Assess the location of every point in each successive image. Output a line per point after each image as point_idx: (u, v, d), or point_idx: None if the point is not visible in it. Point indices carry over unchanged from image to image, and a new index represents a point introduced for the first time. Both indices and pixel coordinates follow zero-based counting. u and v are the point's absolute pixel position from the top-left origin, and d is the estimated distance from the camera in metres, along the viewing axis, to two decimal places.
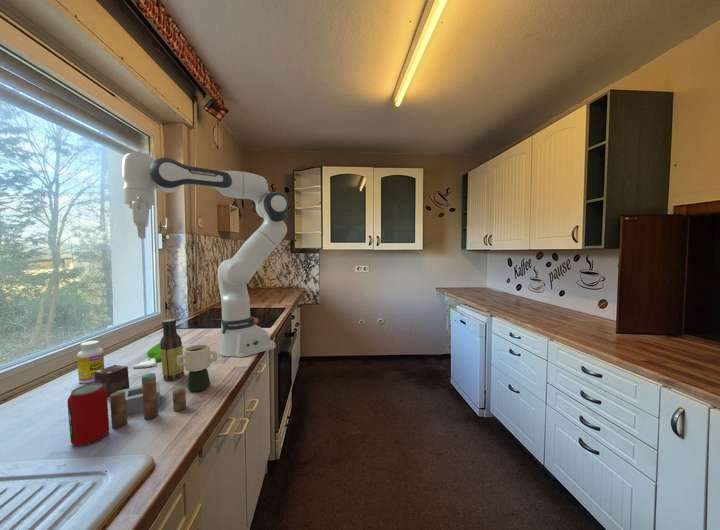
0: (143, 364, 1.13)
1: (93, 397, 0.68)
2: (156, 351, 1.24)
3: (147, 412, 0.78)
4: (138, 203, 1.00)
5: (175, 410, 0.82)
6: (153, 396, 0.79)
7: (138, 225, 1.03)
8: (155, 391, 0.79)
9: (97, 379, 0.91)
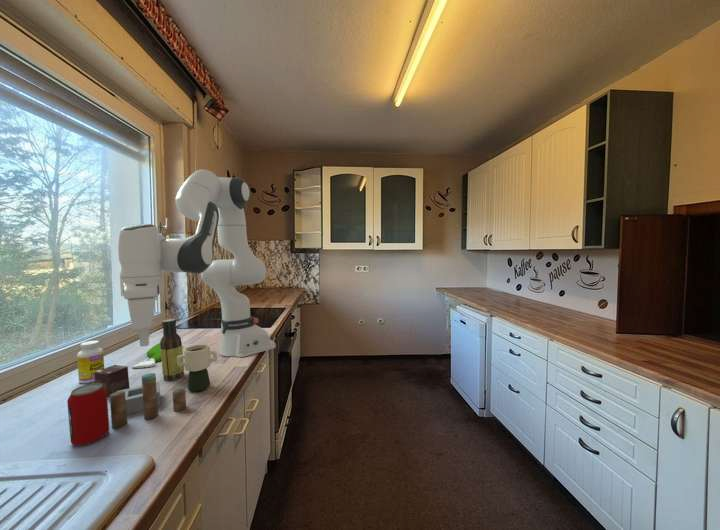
0: (142, 364, 1.13)
1: (92, 397, 0.68)
2: (155, 351, 1.24)
3: (147, 412, 0.78)
4: None
5: (175, 410, 0.82)
6: (153, 396, 0.79)
7: None
8: (155, 391, 0.79)
9: (97, 379, 0.91)
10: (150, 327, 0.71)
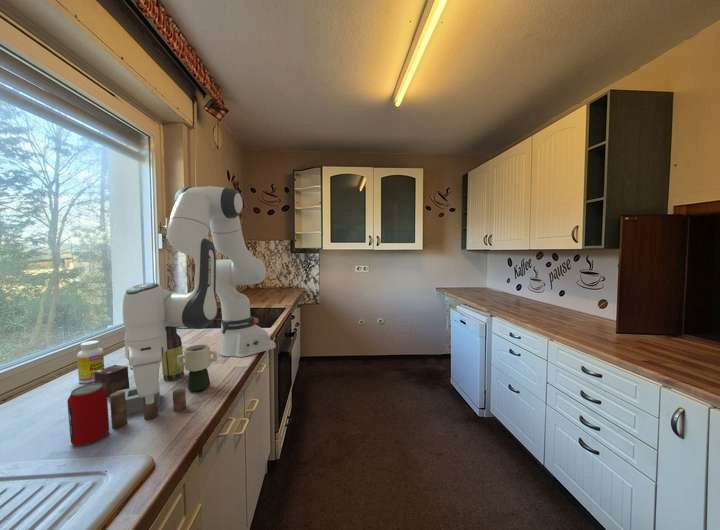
0: None
1: (92, 397, 0.68)
2: None
3: (147, 412, 0.78)
4: None
5: (175, 410, 0.82)
6: None
7: None
8: None
9: (97, 379, 0.91)
10: (155, 392, 0.72)
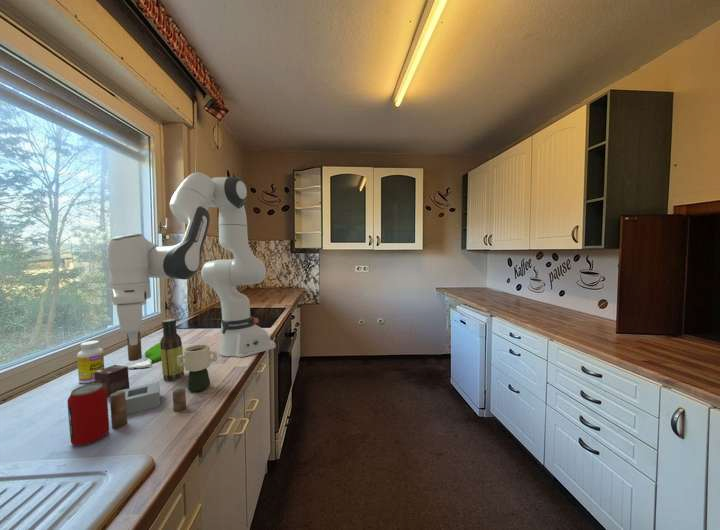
0: (138, 365, 1.12)
1: (93, 397, 0.68)
2: (153, 352, 1.24)
3: (131, 353, 0.83)
4: None
5: (175, 410, 0.82)
6: None
7: None
8: (139, 335, 0.84)
9: (97, 379, 0.91)
10: (137, 330, 0.77)
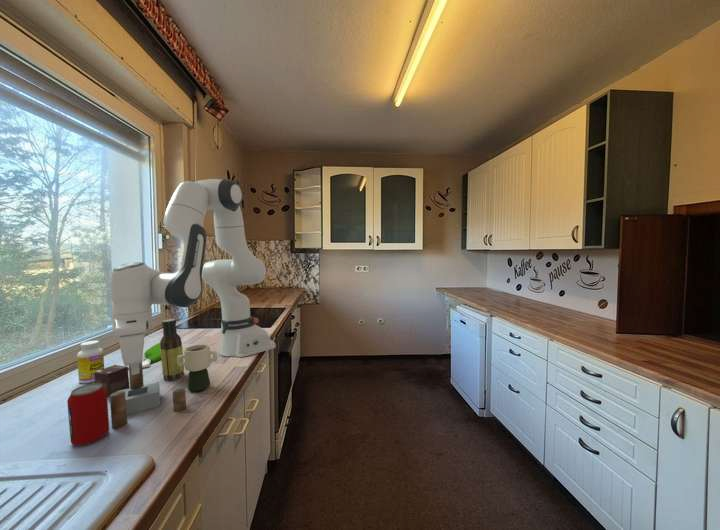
0: None
1: (92, 397, 0.68)
2: (153, 352, 1.24)
3: (132, 382, 0.83)
4: None
5: (175, 410, 0.82)
6: None
7: None
8: (141, 363, 0.85)
9: (97, 379, 0.91)
10: (140, 361, 0.77)
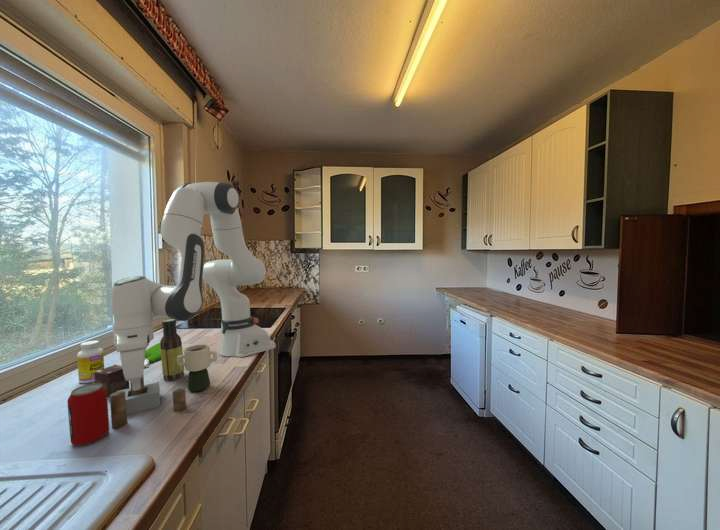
0: None
1: (93, 397, 0.68)
2: (152, 352, 1.24)
3: None
4: None
5: (175, 410, 0.82)
6: None
7: None
8: (142, 382, 0.85)
9: (97, 379, 0.91)
10: (141, 376, 0.78)
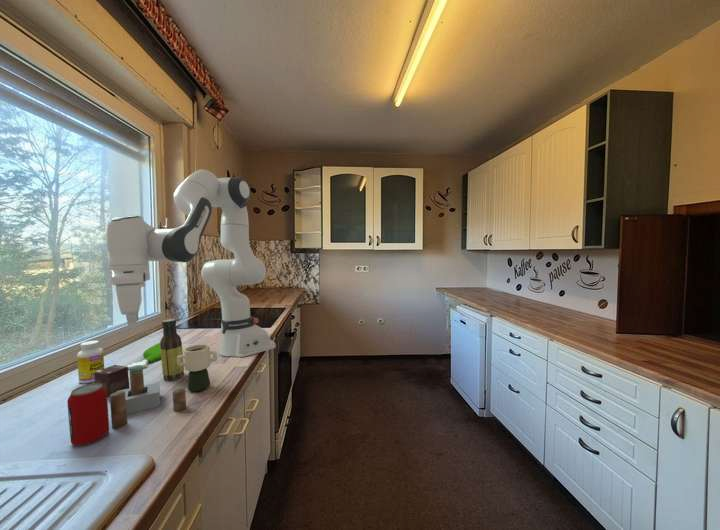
0: (133, 365, 1.12)
1: (92, 397, 0.68)
2: (151, 352, 1.24)
3: None
4: None
5: (175, 410, 0.82)
6: (140, 386, 0.84)
7: None
8: (142, 382, 0.85)
9: (97, 379, 0.91)
10: (137, 311, 0.77)
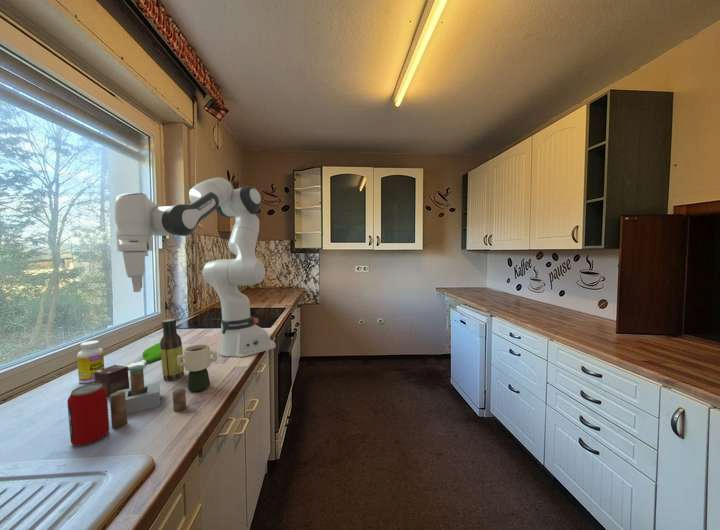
0: (132, 365, 1.12)
1: (93, 397, 0.68)
2: (150, 352, 1.24)
3: None
4: None
5: (175, 410, 0.82)
6: (140, 386, 0.85)
7: None
8: (142, 382, 0.85)
9: (97, 379, 0.91)
10: (141, 275, 0.87)
